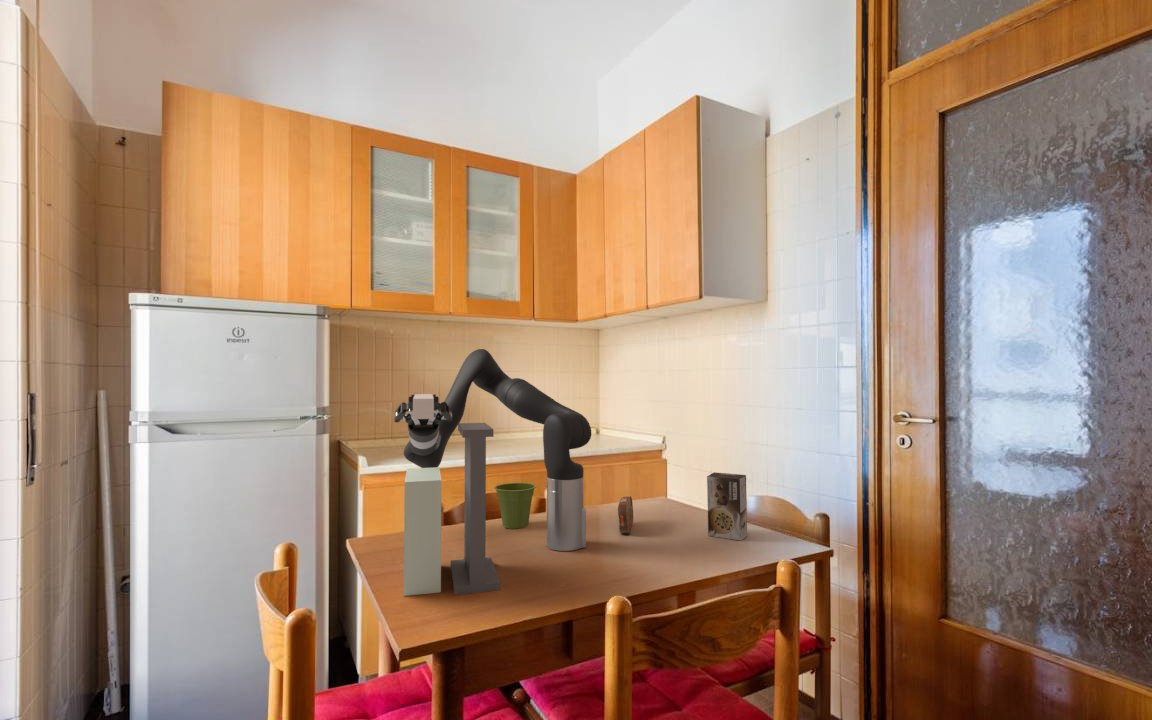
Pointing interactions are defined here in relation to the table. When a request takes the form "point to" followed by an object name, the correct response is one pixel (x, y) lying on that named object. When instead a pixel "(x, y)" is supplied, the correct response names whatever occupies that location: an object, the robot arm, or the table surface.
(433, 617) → the table surface
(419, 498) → the pedestal
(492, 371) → the robot arm
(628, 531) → the tin
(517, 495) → the plant pot
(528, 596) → the table surface
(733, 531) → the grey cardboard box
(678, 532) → the table surface
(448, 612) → the table surface
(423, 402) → the stone bar
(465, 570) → the tall stand
